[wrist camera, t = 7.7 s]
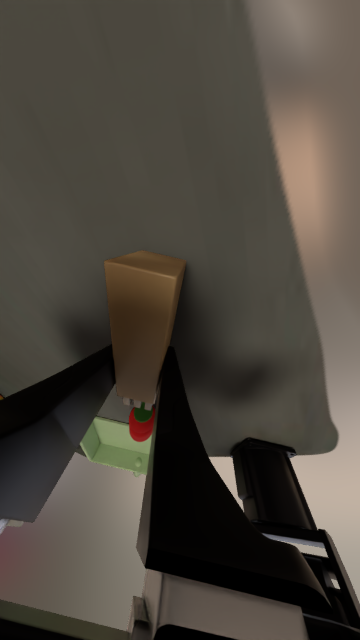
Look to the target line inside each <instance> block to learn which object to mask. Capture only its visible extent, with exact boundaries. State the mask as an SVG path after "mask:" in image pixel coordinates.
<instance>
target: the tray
mask: <svg viewBox="0 0 360 640" xmlns="http://www.w3.org/2000/svg"><path fill="white" fill-rule="evenodd" d="M151 439H152V435H151V436H150V437H149V438H148V439H147V440H145V441H143V442H137V441H135V440H133V439H132V438H131V436H130V432H129V424H127V423H122V422H118V421H114V420H110V419H105V418H101V417H97V416H96V417H95V419H94V420H93V422H92V424H91V425H90V427H89V429H88V431H87V432H86V434H85V436H84V437H83V439H82V441H81V443H80V446H81V447H82V449H83V451H84V452H85V454H86V456H87V458H88V459H89V461H91V462H95V463H99V464H104V465H107V466H111V467H116V468H120V469H124V470H129V471H133V472H134V476H135V477H139V475H140V474H145V475H146V474H147V468H148V460H149V453H150V446H151ZM101 443H102V444H101ZM105 444H106V445H105ZM109 445H110V446H109ZM118 447H119V448H118ZM122 448H123V449H122ZM126 449H127V450H126ZM139 452H140V453H139ZM143 453H144V454H143ZM147 454H148V455H147Z"/></svg>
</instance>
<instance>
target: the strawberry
mask: <svg viewBox="0 0 360 640" xmlns="http://www.w3.org/2000/svg"><path fill="white" fill-rule="evenodd" d="M154 418H155V408H154V407H153V405H152V408H151V411H150V410H145V402H142V404H141V407H140V408H137V407H134V408H133V409H132V411H131V413H130V416H129V432H130V436H131V438H132V439H133V440H135V441H137V442H143V441H145V440H147V439H148V438H149V437H150V436H151V435H152V432H153V425H154Z"/></svg>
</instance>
